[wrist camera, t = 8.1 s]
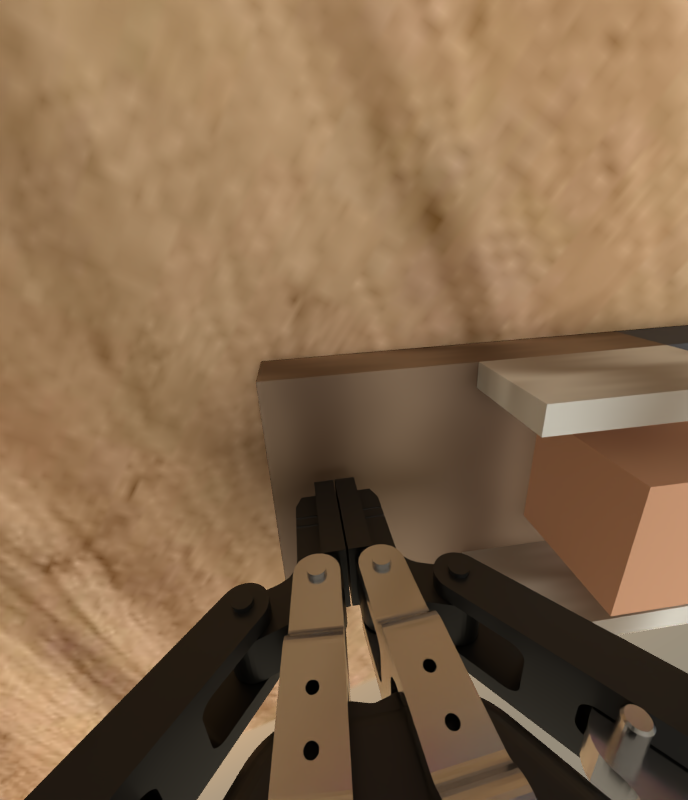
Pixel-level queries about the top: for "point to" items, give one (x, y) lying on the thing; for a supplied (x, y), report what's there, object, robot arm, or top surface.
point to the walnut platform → (464, 442)
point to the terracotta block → (617, 512)
